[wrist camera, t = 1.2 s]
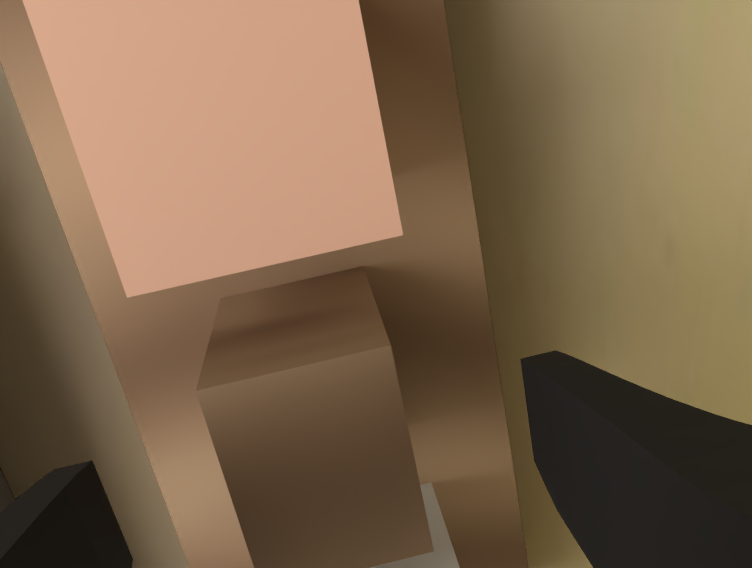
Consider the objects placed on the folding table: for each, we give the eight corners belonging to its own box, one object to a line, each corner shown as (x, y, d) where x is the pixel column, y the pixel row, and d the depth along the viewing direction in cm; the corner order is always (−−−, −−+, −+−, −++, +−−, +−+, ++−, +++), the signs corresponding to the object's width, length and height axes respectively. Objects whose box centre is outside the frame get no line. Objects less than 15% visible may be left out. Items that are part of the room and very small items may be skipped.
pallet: (511, 560, 20) (602, 767, 14) (241, 629, 19) (222, 870, 14) (408, -87, 14) (492, -182, 8) (16, -8, 13) (-184, -50, 8)
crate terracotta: (370, 183, 13) (403, 235, 10) (172, 227, 13) (127, 297, 9) (326, -34, 12) (345, -72, 8) (104, 11, 12) (19, -7, 8)
